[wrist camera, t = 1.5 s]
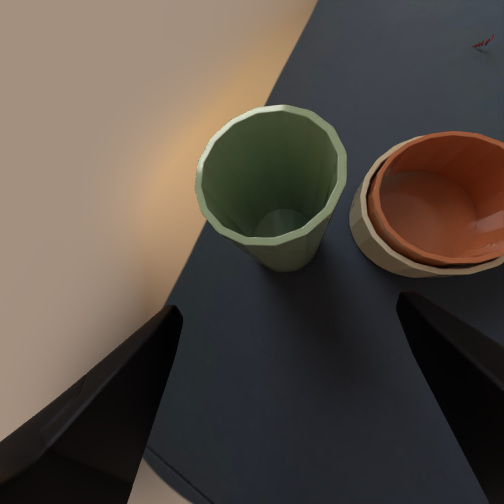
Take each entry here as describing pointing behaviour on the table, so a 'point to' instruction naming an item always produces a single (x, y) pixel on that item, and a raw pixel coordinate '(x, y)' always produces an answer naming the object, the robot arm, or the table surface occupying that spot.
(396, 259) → the stack base cup
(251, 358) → the table surface
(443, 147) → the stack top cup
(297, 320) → the table surface
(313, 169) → the tumbler
